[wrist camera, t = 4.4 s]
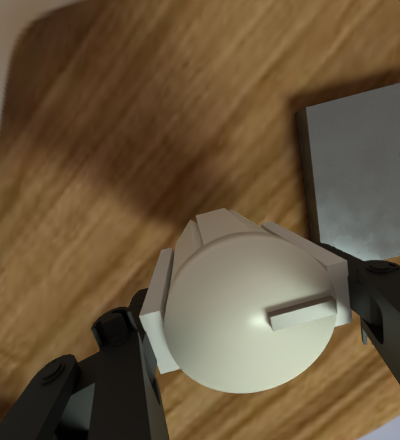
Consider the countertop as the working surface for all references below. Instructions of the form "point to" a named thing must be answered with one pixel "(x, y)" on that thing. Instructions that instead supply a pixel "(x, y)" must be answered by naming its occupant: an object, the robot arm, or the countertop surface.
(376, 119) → the panel
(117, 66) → the countertop surface
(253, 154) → the countertop surface
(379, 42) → the countertop surface
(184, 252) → the knob
